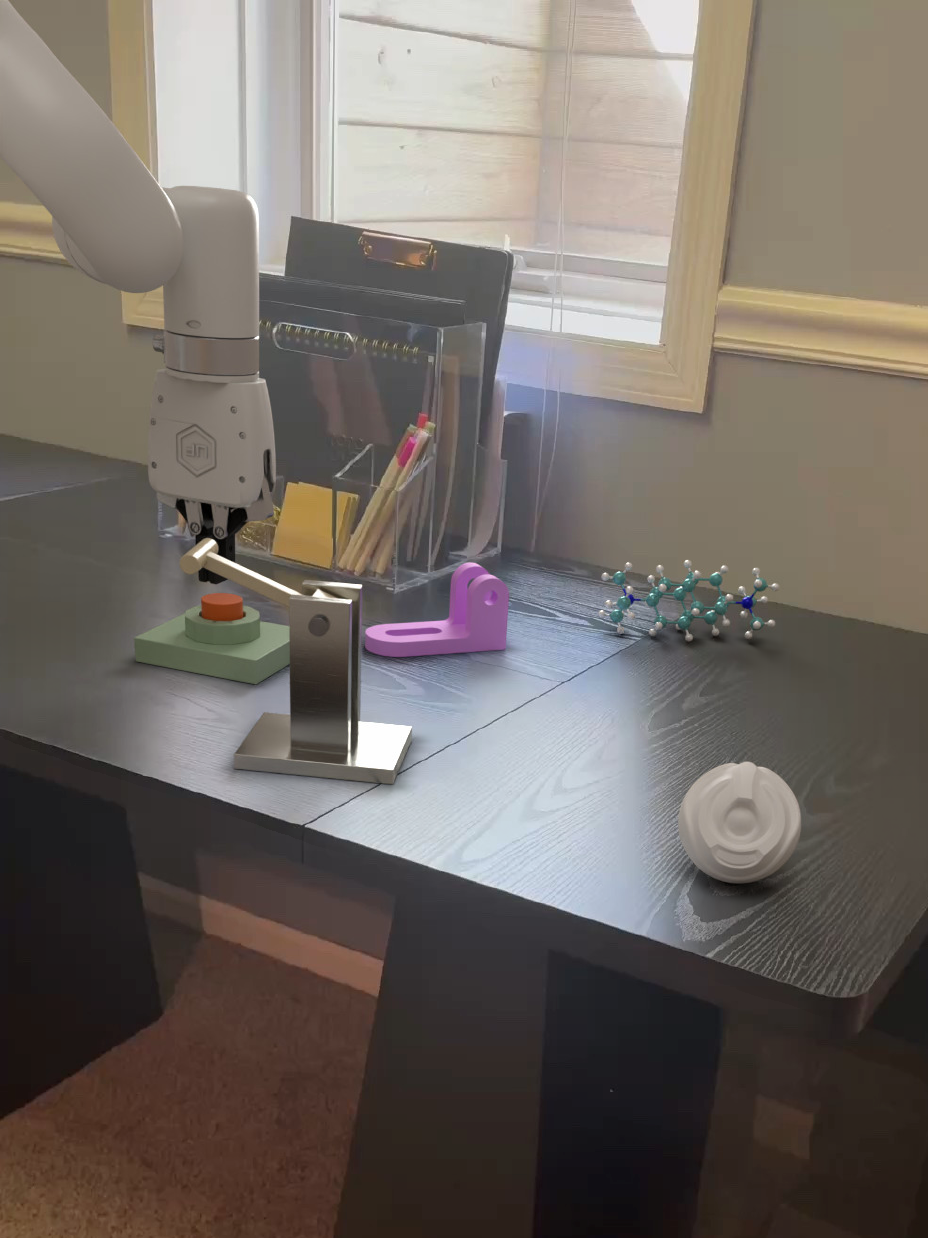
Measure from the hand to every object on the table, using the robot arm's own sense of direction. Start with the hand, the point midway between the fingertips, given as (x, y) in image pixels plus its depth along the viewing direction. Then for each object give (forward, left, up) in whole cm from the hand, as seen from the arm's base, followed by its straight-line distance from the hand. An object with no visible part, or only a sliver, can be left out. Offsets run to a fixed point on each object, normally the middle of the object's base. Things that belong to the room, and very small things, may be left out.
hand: (215, 579), depth 121 cm
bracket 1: (+18, -16, -7) cm, 25 cm away
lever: (+14, -17, +4) cm, 22 cm away
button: (0, 0, -4) cm, 4 cm away
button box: (0, 0, -7) cm, 7 cm away
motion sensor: (+51, -22, -7) cm, 56 cm away
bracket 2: (+15, +13, -7) cm, 22 cm away
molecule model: (+36, +29, -7) cm, 47 cm away
